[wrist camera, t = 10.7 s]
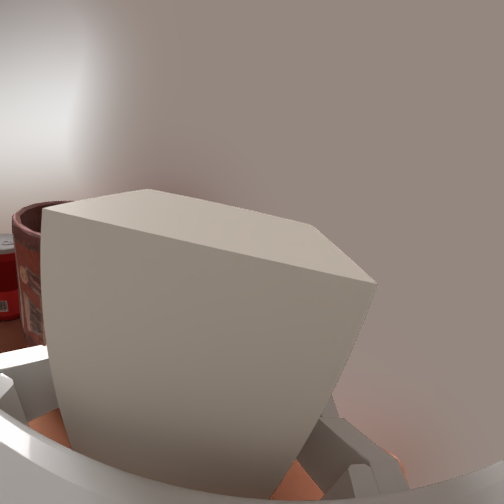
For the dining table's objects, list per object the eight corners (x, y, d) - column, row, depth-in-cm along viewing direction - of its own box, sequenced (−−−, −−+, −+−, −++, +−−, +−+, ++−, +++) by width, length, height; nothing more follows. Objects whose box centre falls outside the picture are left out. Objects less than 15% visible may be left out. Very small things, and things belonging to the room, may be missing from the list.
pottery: (12, 330, 30) (5, 200, 25) (111, 310, 44) (121, 200, 39) (53, 423, 20) (26, 250, 16) (179, 375, 34) (203, 238, 30)
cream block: (227, 552, 7) (377, 284, 4) (103, 522, 6) (42, 207, 4) (232, 468, 12) (311, 225, 9) (133, 444, 11) (148, 188, 8)
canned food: (36, 311, 36) (33, 243, 33) (-3, 327, 28) (-12, 253, 26) (15, 293, 38) (12, 230, 35) (-21, 305, 30) (-28, 238, 28)
